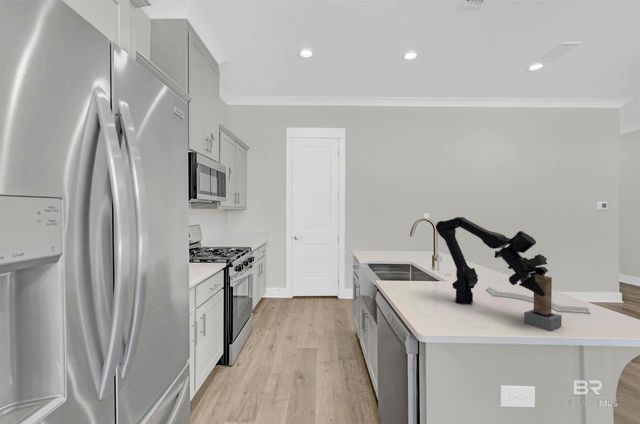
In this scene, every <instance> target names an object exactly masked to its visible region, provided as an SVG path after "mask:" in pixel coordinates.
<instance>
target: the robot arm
mask: <svg viewBox="0 0 640 424" xmlns="http://www.w3.org/2000/svg"><path fill="white" fill-rule="evenodd" d="M458 228H460V229H463V230H464V231H467V232H468V233H470V234H471V235H473V236H474V237H475V236H476V237H477V238H479V239H480V240H481V241H482V242H483V244H484V245H486V246H487V247H488V248H490V249H493V250H494V249H500V250H495V251H494V256H493V257H494V258H495V259H497V258H501V259H502V260H503V261H505V263H506V264H507V265H508V266H507V268H508V269H509V270H513V272H514V273H513V274H512V275H510V276H509V277H508V282H509V283H510V284H511V285H512V286H515V285H517V284H518V282H520V283H519V284H518V286H519V287H522V288H525V289H527V290H528V291H531V292H533V293H534V292H535V293H536V294H538V295H540V296H542V297H543V296H545V294H544V292H543V291H542V289H541V288H540V287H539V286H538V284H537V283H536V282H535V276H537V275H541V276H546V274H547V273H548V272H549V270H548V268H546V267H545V266H543V265H548V263H547V260H548V259H547V257H545V255H542V254H541V253H540V254H536V255H534V257H532V258H529V259H528V258H527V257H523V256H522V255H521V254H520V253H522V254H524V253H526V252H527V251H528V250H529V249H531V248H532V247H533V246H535V245H536V244H537V241H536V240H535V238H534V237H533V236H531V235H530V234H527V233H526V232H524V231H522V230H519V231H517V232H516V234H515V235H514V236H513V237H512V238H509V237H507V236H505V235H504V234H501V233H499V232H495V231H491V230H487V229H486V228H484V227H482V226H481V225H478V224H477V223H474V222H473V221H470V220H468V219H467V218H465V217H464V216H456V217H455V218H451V219H448V220H440V221H438V222H437V223H436V225H435V230H436V232H437V233H438V235H439V236H440V238H442V239H443V240H444V242H445V244H446V246H447V248H448V251H449V253H450V255H451V258H452V261H453V263H454V265H455V268H456V273H455V275H456V280H455V281H453V283H452V284H451V285H452V288H453V289H454V290H455V303H456V304H463V305H464V304H465V305H473V301H474V293H473V291H472V289H475V286H476V285H477V284H478V281H479V278H478V277H479V275H478V274H477V271H476V269H475V267H470V266H469V265H468V263H467V261H466V258H465V256H464V254H463V252H462V249H461V247H460V245H459V242H458V240H457V238H456V233H457V230H456V229H458Z"/></svg>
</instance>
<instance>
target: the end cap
mask: <svg viewBox="0 0 640 424" xmlns="http://www.w3.org/2000/svg"><path fill="white" fill-rule="evenodd" d="M562 317H563V316H562V315H561V314H559V313H558V314H557V313H555V312H554V313H553V312H551V313H549V314H542V313H538V312H534V308H532V309H531V310H527V311H525V312H523V323H524V324H526V325H528V326H532V327H536V328H539V329H542V330H546V331H549V332H552V331H554V330H557V329H559V328H561V327H562V326H563V325H562V320H563V319H562Z"/></svg>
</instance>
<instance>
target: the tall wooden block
mask: <svg viewBox="0 0 640 424" xmlns="http://www.w3.org/2000/svg"><path fill="white" fill-rule="evenodd" d="M535 282H536V283H537V284H538V286H539V287H540V288H541V289H542V291H543V292H544V294H545V296H543V297H542V296H540V295H538V294H536V293H535V292H533V297H534V303H533V309H534V312H538V313H542V314H549V313H552V309H551V302H552V282H553V281H552V276H546V275H544V276H541V275H537V276H535Z"/></svg>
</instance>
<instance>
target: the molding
mask: <svg viewBox="0 0 640 424" xmlns="http://www.w3.org/2000/svg"><path fill="white" fill-rule="evenodd" d="M485 291H486V292H488V293H489V295H491V296H492V297H497V298H507V299H514V300H518V301H522V302H523V301H524V302H528V303H533V304H534V296H530V295H527V294H521V293H515V292H509V291H508V292H507V291H501V290H498V289H497V288H494V287H492V286H491V285H489V286H488V287H487V288H485ZM551 310H553V311H555V312H557V313H567V314H581V313H582V315H583V314H584V315H591V312H590V309H589V307H588V306H577V305H561V304H558V303H555V302H552V301H551Z"/></svg>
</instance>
